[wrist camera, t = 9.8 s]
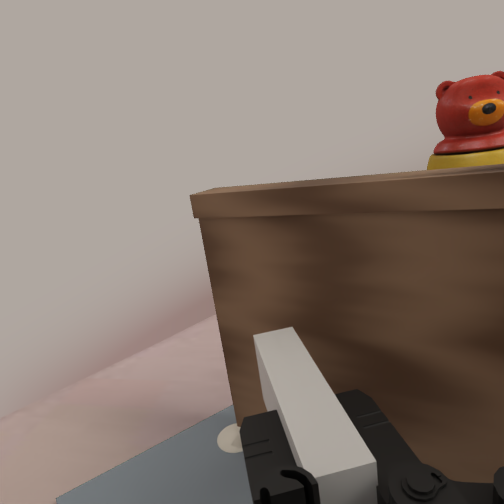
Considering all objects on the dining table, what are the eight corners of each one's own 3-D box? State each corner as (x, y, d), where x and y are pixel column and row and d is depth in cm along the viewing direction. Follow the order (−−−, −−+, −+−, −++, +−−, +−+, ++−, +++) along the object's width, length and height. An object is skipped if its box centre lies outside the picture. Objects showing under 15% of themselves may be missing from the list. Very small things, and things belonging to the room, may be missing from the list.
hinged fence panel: (514, 481, 15) (531, 161, 11) (516, 522, 13) (535, 169, 10) (252, 407, 21) (214, 187, 18) (234, 430, 19) (189, 195, 16)
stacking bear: (424, 268, 39) (420, 79, 34) (413, 241, 48) (408, 89, 43) (551, 262, 36) (566, 53, 31) (513, 234, 45) (520, 70, 40)
